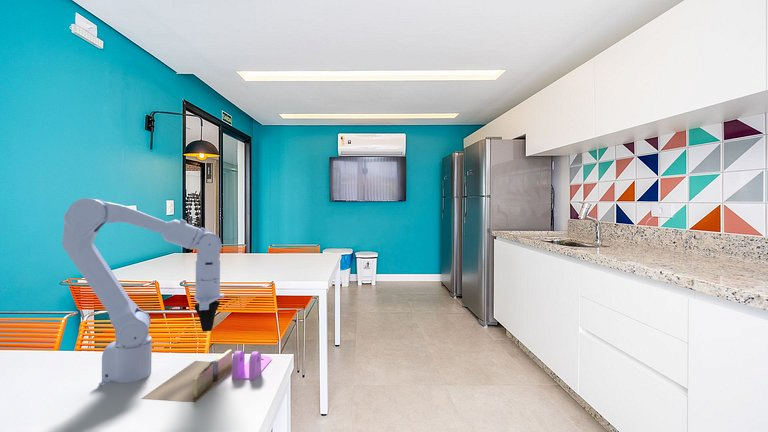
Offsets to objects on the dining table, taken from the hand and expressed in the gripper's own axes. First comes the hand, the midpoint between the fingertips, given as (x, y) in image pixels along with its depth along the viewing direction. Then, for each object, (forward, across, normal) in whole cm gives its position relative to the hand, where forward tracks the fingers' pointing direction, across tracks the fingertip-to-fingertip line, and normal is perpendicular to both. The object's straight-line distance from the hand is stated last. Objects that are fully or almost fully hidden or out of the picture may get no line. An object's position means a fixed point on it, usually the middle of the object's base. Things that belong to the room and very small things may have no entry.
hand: (207, 330), depth 94 cm
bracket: (+10, -6, -12) cm, 17 cm away
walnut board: (+9, -9, +1) cm, 13 cm away
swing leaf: (+8, -15, -1) cm, 18 cm away
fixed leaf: (+8, -8, -4) cm, 12 cm away
